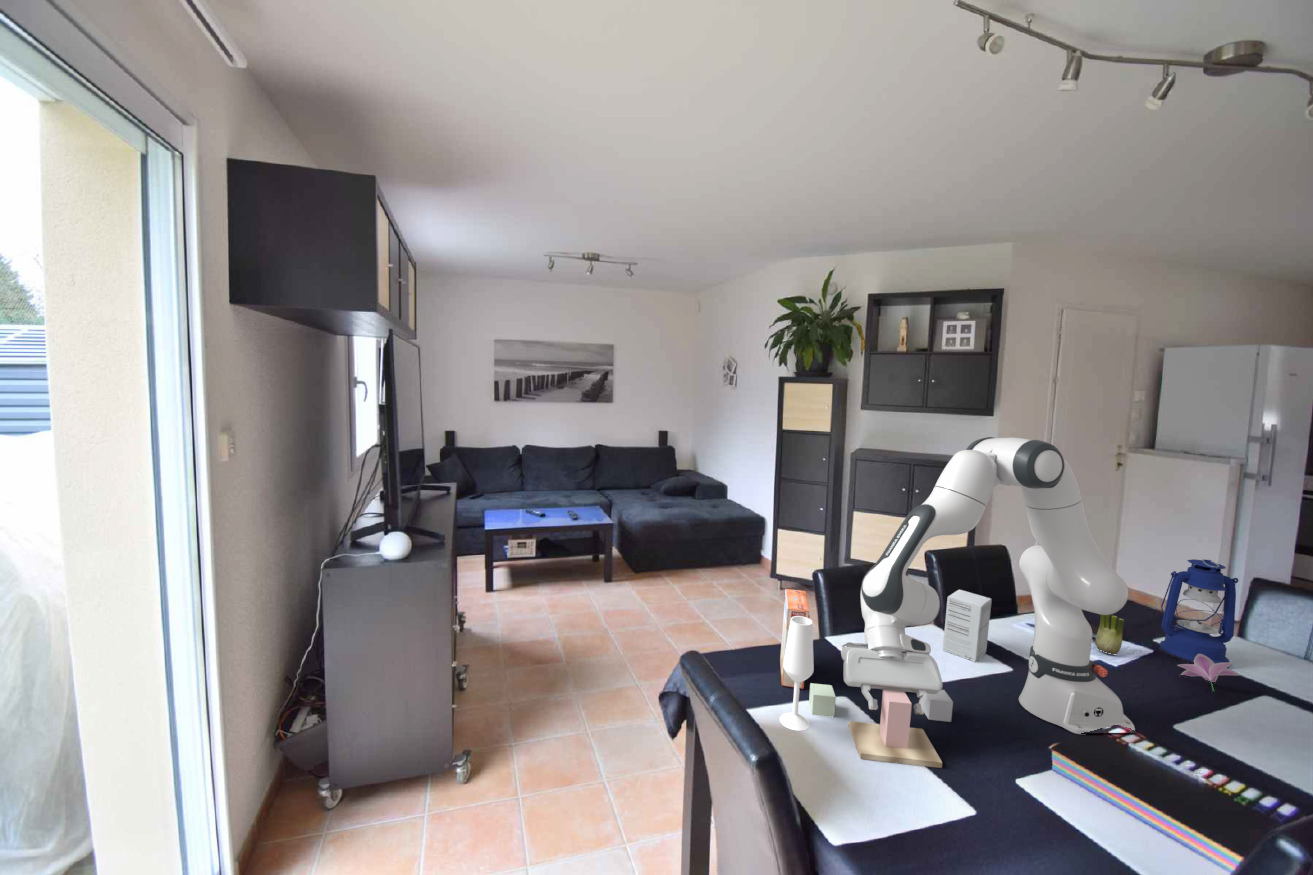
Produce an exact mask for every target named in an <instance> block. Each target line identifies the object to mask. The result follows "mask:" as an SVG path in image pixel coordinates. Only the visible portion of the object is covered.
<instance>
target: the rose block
mask: <svg viewBox="0 0 1313 875" xmlns="http://www.w3.org/2000/svg"><path fill="white" fill-rule="evenodd" d="M881 697H882V699H881V710H880V720H879V721H880V722H879V724H880V731H879V733H880V735H881V738H882V740H883V742H884V744H885V746H887V747H896V748H905V749H908V740H909V729H910V728H911V726H910V725H911V716H912V705H913V704H912V702H911V701H910V698H909V697H908V695H907V693H906V692H905V691H902V692H901V691H891V690H884V689H882V696H881Z"/></svg>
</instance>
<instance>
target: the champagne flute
mask: <svg viewBox="0 0 1313 875" xmlns="http://www.w3.org/2000/svg"><path fill="white" fill-rule="evenodd" d="M813 629H814V626H813V620H812V619H811V618H810V617H809V618H806V617H802V616H794V617H792V618H791V620H790V626H789V632H788V638H787V644H786V650H785V656H784V662H783V667H784V670H785V672H786V673H787V675H788V676H789V677H790V678H791V679H792V680H793V681H795V684H794V687H793V700H792V712H785V713H783V714H781V715H780V716H779V722H780V724H782V725H783V727H785V728H787V729H789V730H792V731H798V732H799V731H802V732H803V731H806V730H807V729H809V728H810V721H809V720H808V718H806V717H805V716H804V715H802V714H799V700H800V682H803V681H804V682H805V681H806V680H808V679H809V678H810V677H811V676H812V675H813V674H814V668H815V667H814V666H815V665H814V663H815V662H814V638H813V637H814V630H813Z"/></svg>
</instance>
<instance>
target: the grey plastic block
mask: <svg viewBox="0 0 1313 875" xmlns="http://www.w3.org/2000/svg"><path fill="white" fill-rule="evenodd" d="M953 705H954V701H953V700H952V698H951V697H950V696H949V694H948V693H947V691H946V690H945V689H941V690H940V691H939V692H938V693H937V694H927V697H926V700H925V702H924V704H923V706H924V714H925V716H926V718H927V719H928V720H929V721H940V722H949V723H951V722H952V718H953V707H954V706H953Z"/></svg>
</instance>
